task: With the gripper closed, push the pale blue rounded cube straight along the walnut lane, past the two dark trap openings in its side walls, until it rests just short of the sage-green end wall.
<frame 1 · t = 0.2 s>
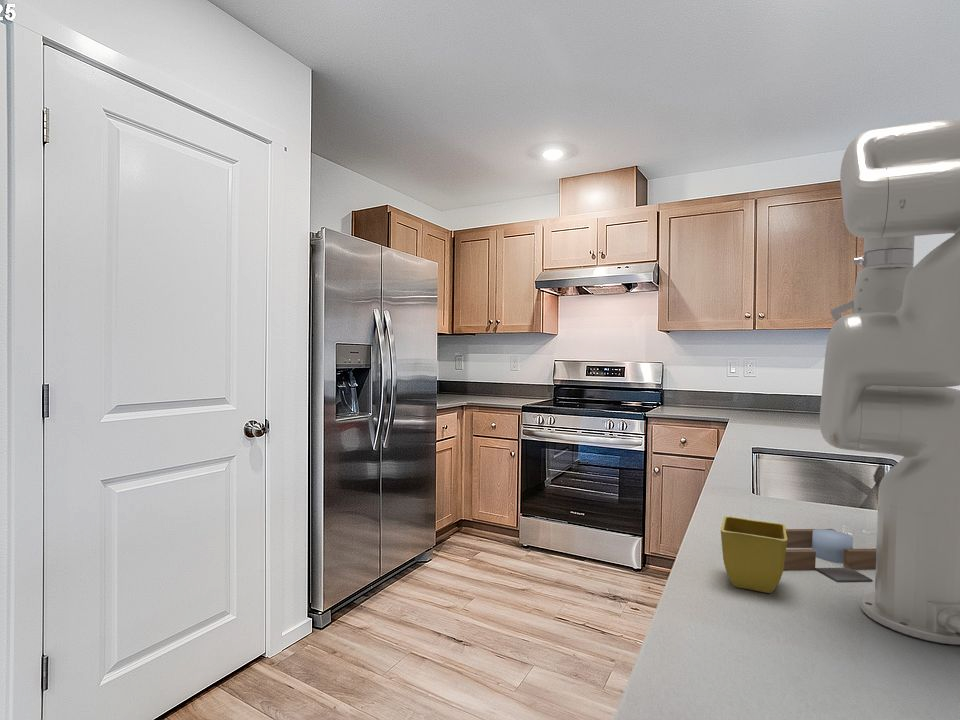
hand: (884, 354, 100), 36 cm above the countertop, tool pointing down, fingers open, 9 cm apart
pale blue rounded cube: (831, 557, 96), on the countertop
flower pot: (751, 586, 83), on the countertop
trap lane: (802, 556, 95), on the countertop
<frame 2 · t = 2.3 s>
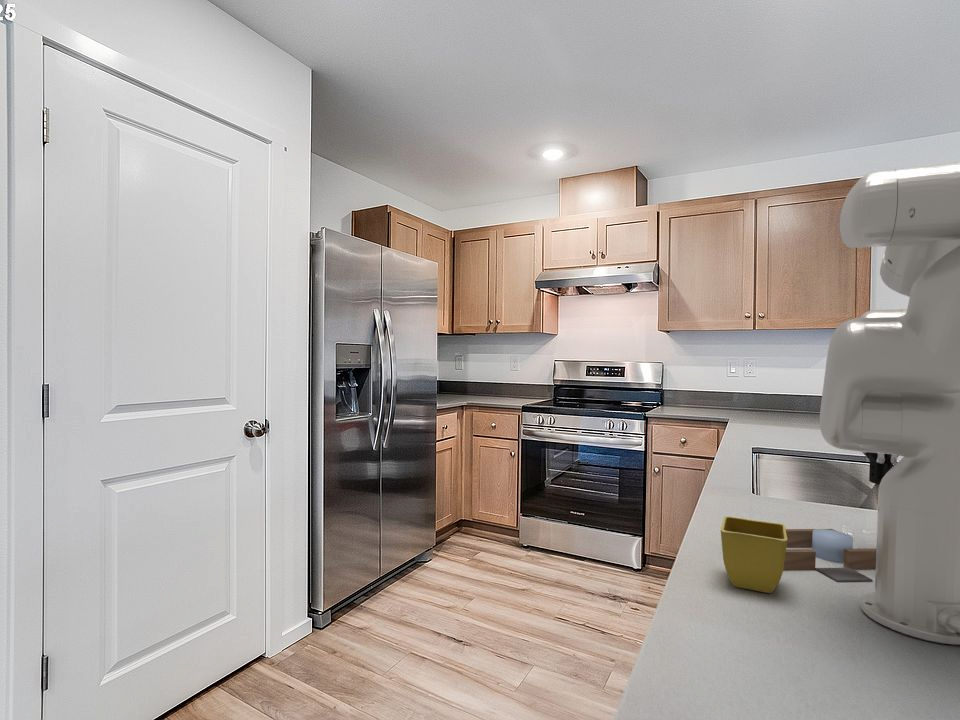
hand: (880, 483, 97), 13 cm above the countertop, tool pointing down, fingers closed
nothing on the countertop moved.
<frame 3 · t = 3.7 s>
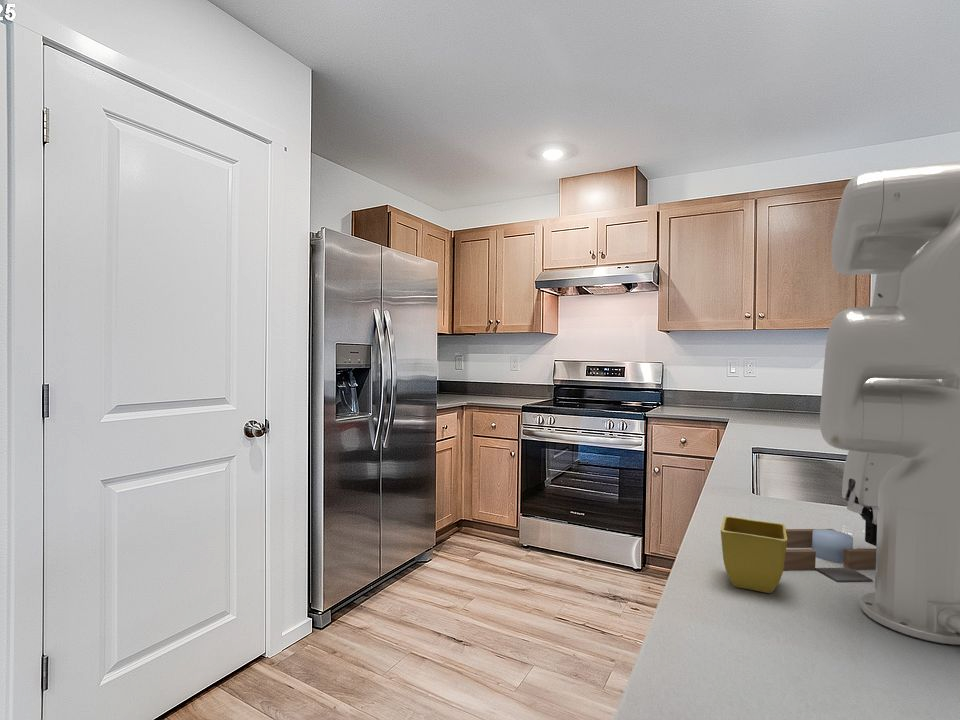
hand: (876, 544, 96), 2 cm above the countertop, tool pointing down, fingers closed
nothing on the countertop moved.
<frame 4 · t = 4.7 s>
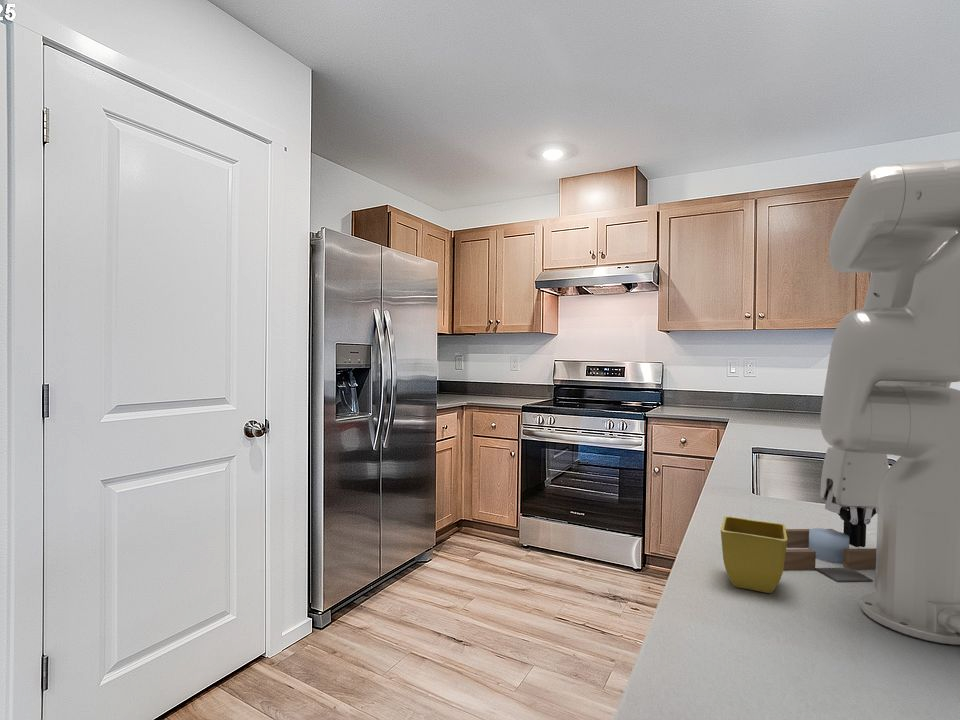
hand: (854, 544, 96), 2 cm above the countertop, tool pointing down, fingers closed
pale blue rounded cube: (828, 556, 96), on the countertop, touching gripper
everything else where it was.
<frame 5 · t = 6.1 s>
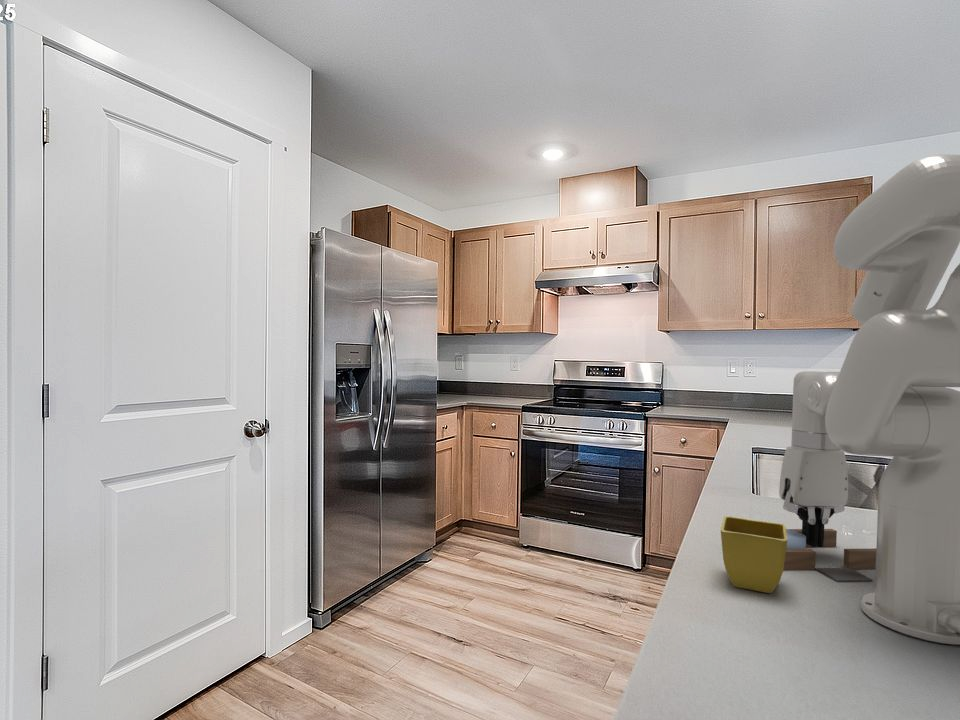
hand: (812, 544, 95), 2 cm above the countertop, tool pointing down, fingers closed
pale blue rounded cube: (785, 556, 95), on the countertop
everything else where it was.
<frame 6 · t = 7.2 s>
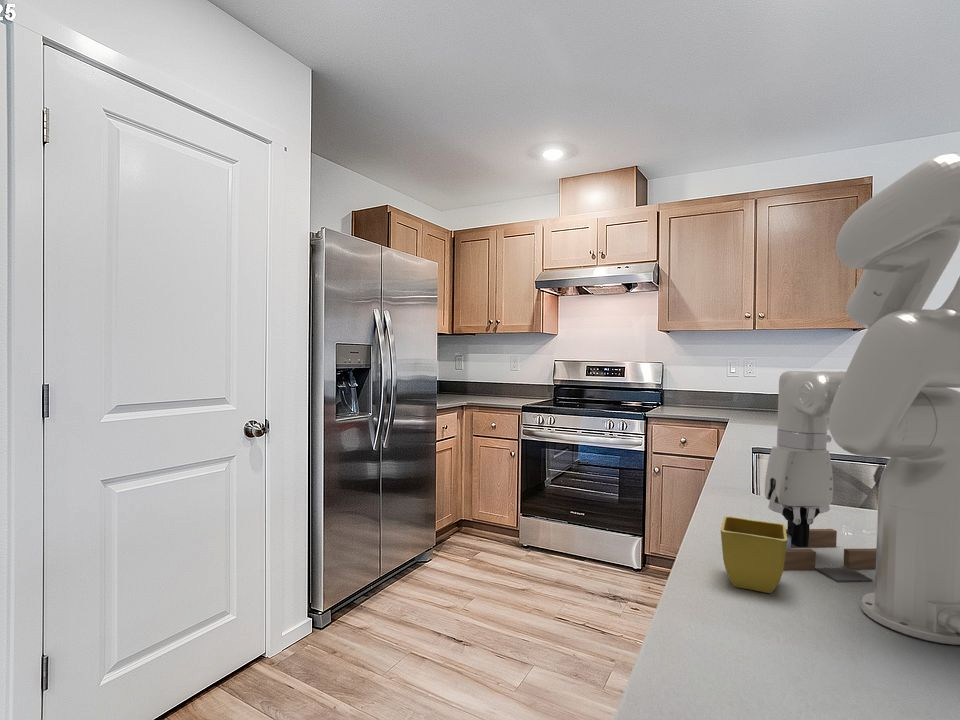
hand: (797, 544, 95), 2 cm above the countertop, tool pointing down, fingers closed
pale blue rounded cube: (770, 556, 95), on the countertop, touching gripper
everything else where it was.
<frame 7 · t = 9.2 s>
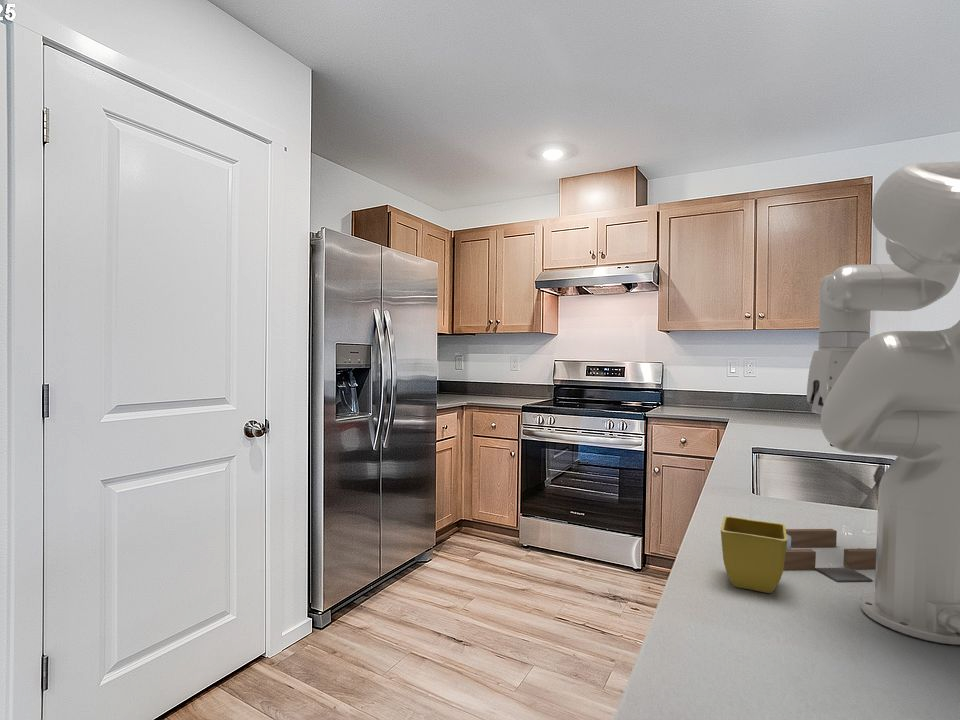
hand: (840, 447, 95), 20 cm above the countertop, tool pointing down, fingers closed
pale blue rounded cube: (770, 557, 95), on the countertop
everything else where it was.
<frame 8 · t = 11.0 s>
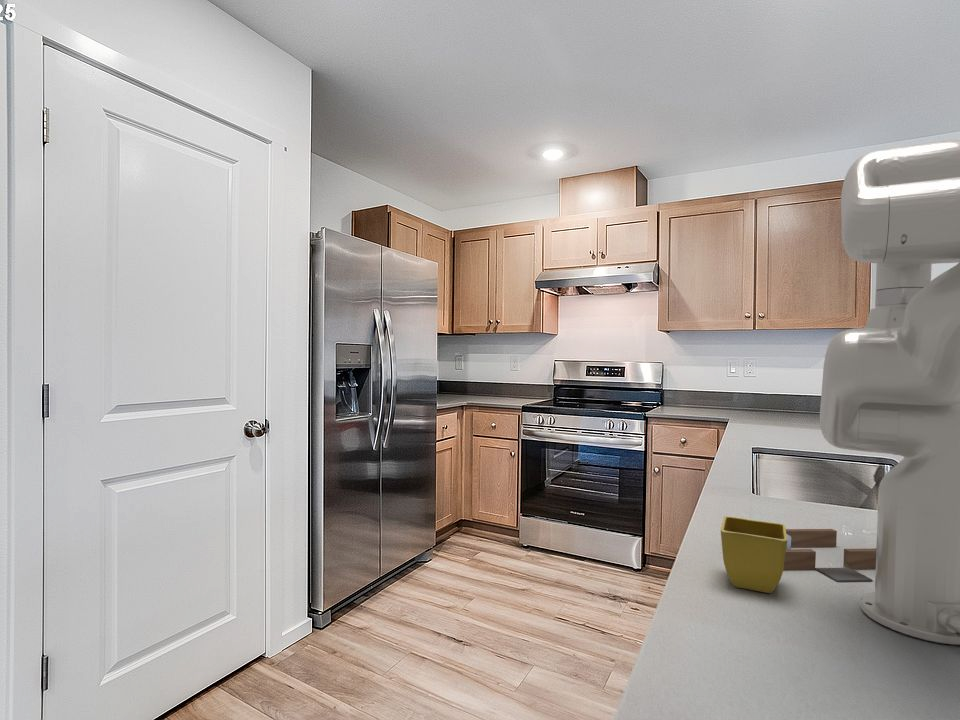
hand: (898, 406, 93), 27 cm above the countertop, tool pointing down, fingers closed
nothing on the countertop moved.
at the end: pale blue rounded cube 1.3 cm from the target spot, on the countertop; pale blue rounded cube moved 11.3 cm from its start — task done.
